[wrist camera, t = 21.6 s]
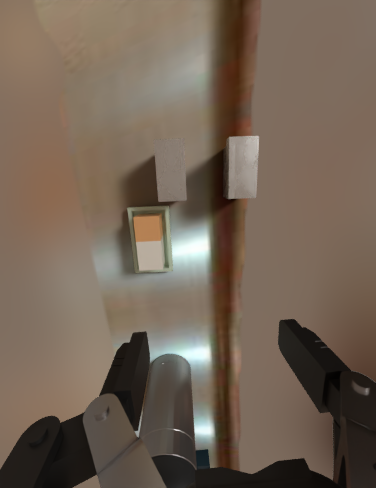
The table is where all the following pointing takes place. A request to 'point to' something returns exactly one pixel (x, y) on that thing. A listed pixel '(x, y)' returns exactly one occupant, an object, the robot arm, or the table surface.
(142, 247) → the two-tone eraser block
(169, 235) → the tray
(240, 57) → the table surface
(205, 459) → the watch
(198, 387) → the table surface
